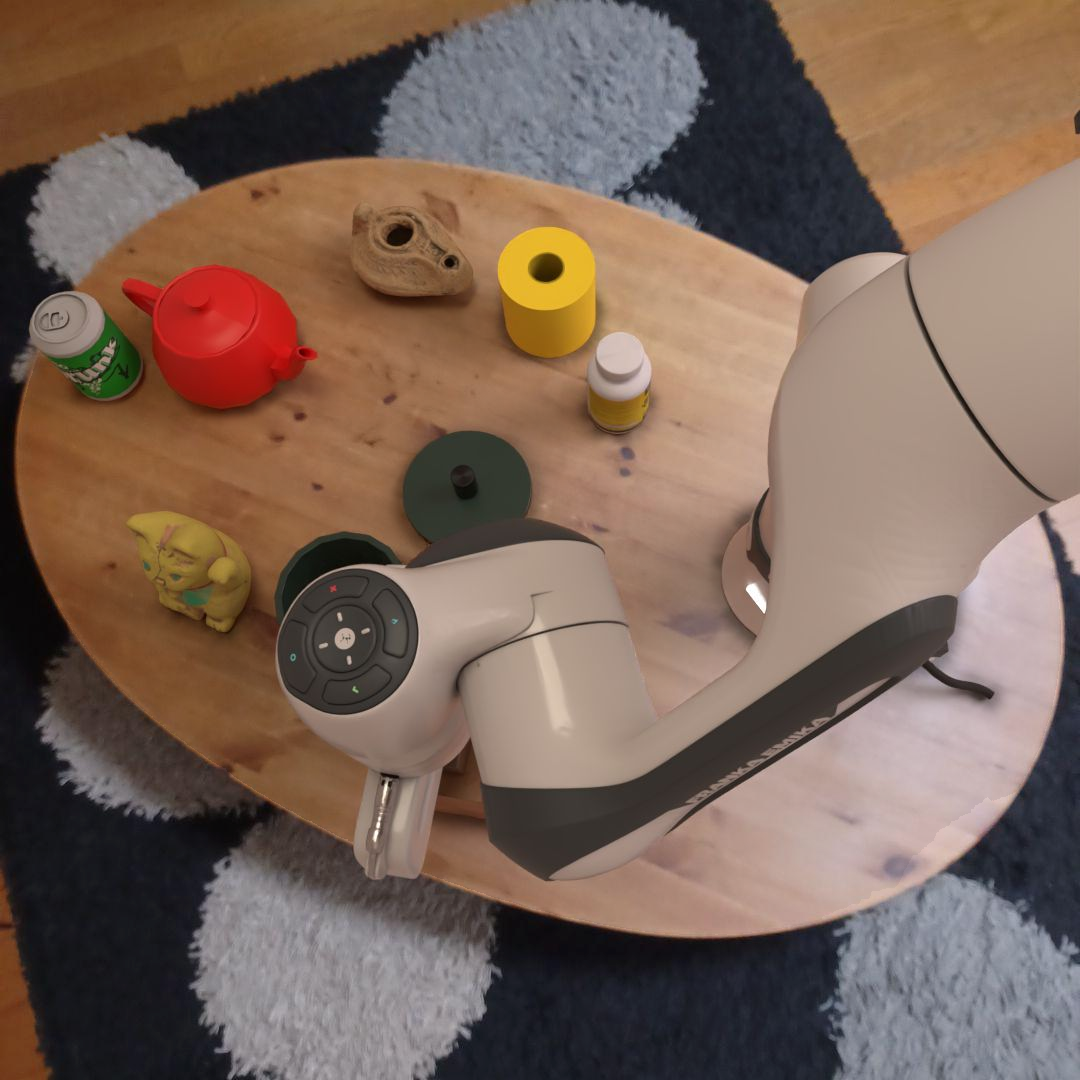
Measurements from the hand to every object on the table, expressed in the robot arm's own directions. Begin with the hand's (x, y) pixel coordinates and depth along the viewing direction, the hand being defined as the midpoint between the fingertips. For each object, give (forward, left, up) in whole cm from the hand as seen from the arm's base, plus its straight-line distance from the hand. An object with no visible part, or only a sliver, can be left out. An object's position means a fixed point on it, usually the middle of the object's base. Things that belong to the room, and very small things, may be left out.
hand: (435, 736), depth 74 cm
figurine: (+29, -14, -23) cm, 39 cm away
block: (0, 0, -2) cm, 2 cm away
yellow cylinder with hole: (+1, -50, -23) cm, 55 cm away
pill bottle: (-8, -40, -23) cm, 47 cm away
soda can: (+48, -36, -23) cm, 64 cm away
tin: (+14, -13, -22) cm, 29 cm away
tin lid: (+6, -28, -22) cm, 36 cm away
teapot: (+34, -40, -23) cm, 57 cm away
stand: (0, 0, -22) cm, 22 cm away
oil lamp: (+17, -54, -23) cm, 61 cm away
